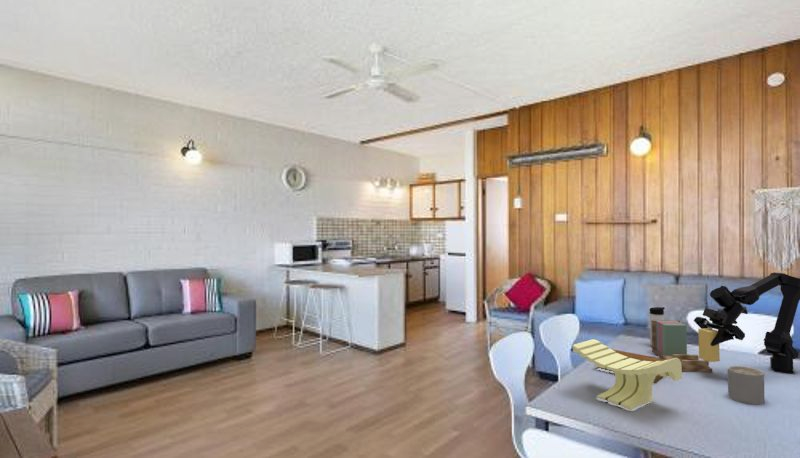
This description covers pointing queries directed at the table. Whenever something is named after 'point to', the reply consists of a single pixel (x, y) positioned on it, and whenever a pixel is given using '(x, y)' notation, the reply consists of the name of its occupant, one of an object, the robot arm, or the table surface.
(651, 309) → the travel mug
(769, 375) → the table surface
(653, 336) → the shelf slot board
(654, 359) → the diary
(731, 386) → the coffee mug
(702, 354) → the pale yellow cuboid
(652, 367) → the slatted curved stool
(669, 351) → the book row
